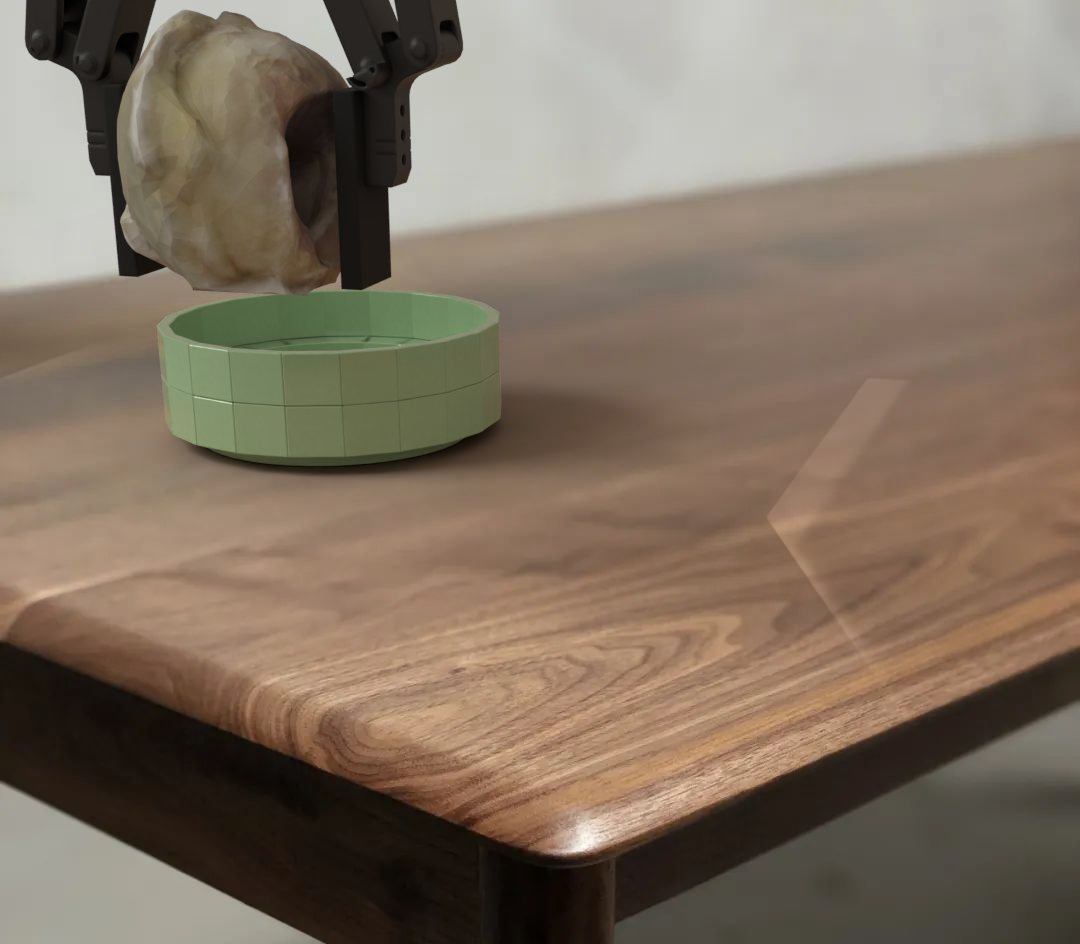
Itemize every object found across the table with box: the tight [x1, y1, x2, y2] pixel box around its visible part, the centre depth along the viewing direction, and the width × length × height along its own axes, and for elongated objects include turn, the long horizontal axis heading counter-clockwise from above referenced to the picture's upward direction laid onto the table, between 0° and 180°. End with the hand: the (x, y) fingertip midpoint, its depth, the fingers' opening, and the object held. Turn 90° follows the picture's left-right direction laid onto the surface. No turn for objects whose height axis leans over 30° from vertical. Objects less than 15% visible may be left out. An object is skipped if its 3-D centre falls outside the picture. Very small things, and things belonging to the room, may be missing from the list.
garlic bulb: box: [117, 9, 350, 296], centre depth 64 cm, size 9×8×10 cm
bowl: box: [156, 288, 503, 467], centre depth 89 cm, size 16×16×6 cm
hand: (254, 275), depth 66 cm, fingers closed on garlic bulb, 8 cm apart
